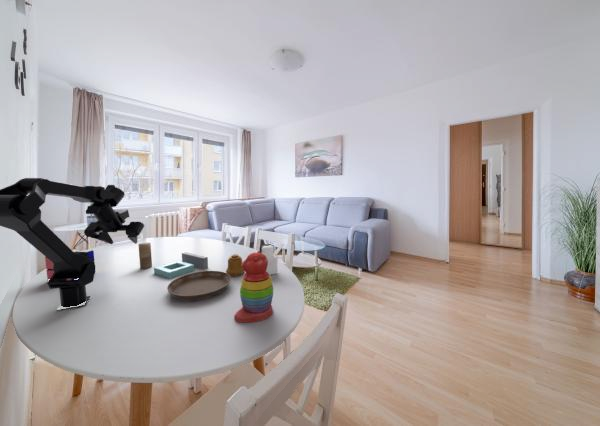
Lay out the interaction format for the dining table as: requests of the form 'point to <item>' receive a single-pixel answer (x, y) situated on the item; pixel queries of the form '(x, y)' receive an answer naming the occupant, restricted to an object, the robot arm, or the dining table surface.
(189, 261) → the charcoal wall
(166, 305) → the dining table surface
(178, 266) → the socket block
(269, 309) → the stacking bear
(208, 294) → the plant saucer
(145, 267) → the walnut dowel
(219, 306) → the dining table surface
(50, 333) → the dining table surface
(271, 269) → the medicine bottle
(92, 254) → the puzzle cube
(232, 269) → the ornamental finial
